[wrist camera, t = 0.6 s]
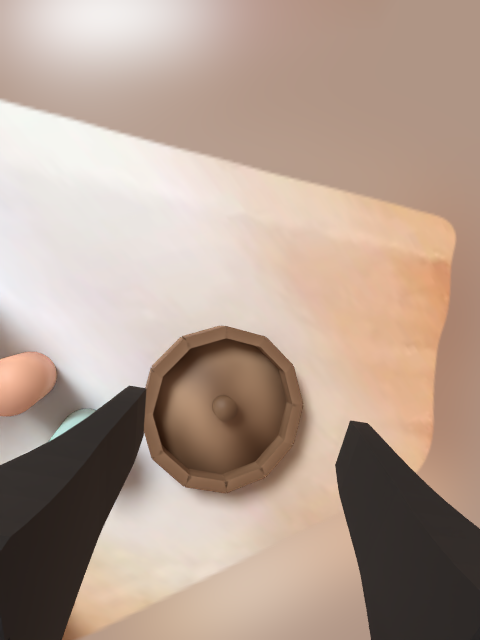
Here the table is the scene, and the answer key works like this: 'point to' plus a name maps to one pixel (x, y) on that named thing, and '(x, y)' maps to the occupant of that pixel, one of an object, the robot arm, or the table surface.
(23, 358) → the peach rounded cylinder
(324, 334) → the table surface
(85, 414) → the pale teal rounded piece
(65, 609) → the robot arm
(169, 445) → the tray
